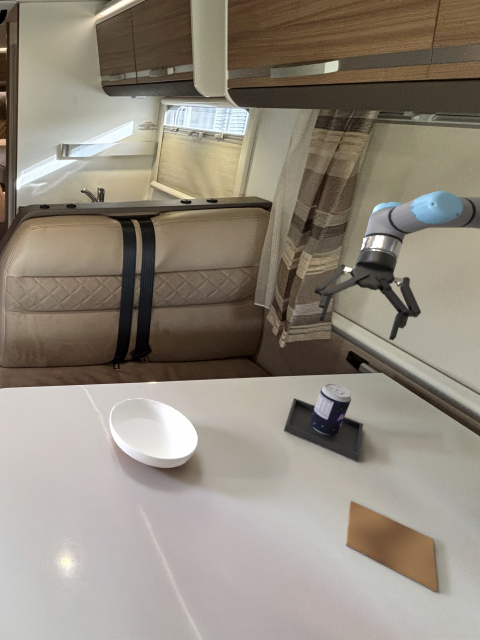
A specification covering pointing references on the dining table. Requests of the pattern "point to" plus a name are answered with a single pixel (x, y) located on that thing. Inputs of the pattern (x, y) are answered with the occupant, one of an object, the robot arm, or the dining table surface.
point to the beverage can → (330, 409)
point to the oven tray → (341, 443)
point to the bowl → (153, 432)
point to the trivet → (392, 545)
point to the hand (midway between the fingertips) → (355, 328)
